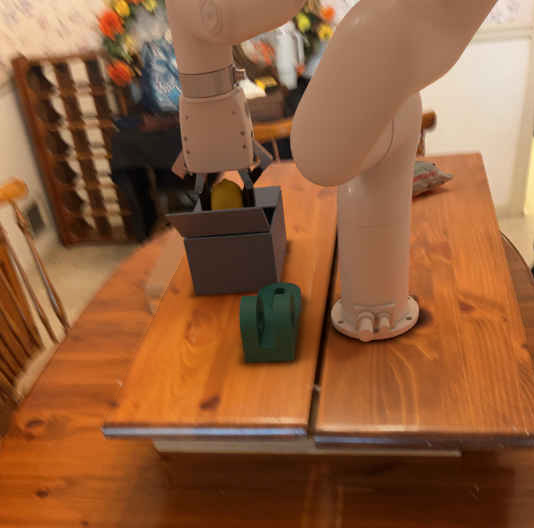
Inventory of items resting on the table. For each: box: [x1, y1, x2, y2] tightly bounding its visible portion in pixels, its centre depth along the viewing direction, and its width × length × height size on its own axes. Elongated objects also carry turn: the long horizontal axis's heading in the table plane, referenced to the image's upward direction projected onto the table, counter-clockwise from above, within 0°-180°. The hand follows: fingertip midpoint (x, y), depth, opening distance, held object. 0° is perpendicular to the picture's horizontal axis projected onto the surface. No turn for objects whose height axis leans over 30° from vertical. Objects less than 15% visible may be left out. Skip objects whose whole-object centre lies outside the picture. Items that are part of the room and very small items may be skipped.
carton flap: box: [165, 206, 271, 238], centre depth 93 cm, size 8×14×1 cm
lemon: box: [210, 177, 245, 210], centre depth 99 cm, size 6×6×8 cm
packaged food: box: [412, 160, 454, 198], centre depth 121 cm, size 9×12×5 cm
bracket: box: [238, 281, 303, 363], centre depth 93 cm, size 18×7×8 cm, turn 173°
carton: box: [182, 185, 288, 296], centre depth 106 cm, size 17×14×10 cm
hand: (229, 212), depth 100 cm, fingers closed on lemon, 5 cm apart
